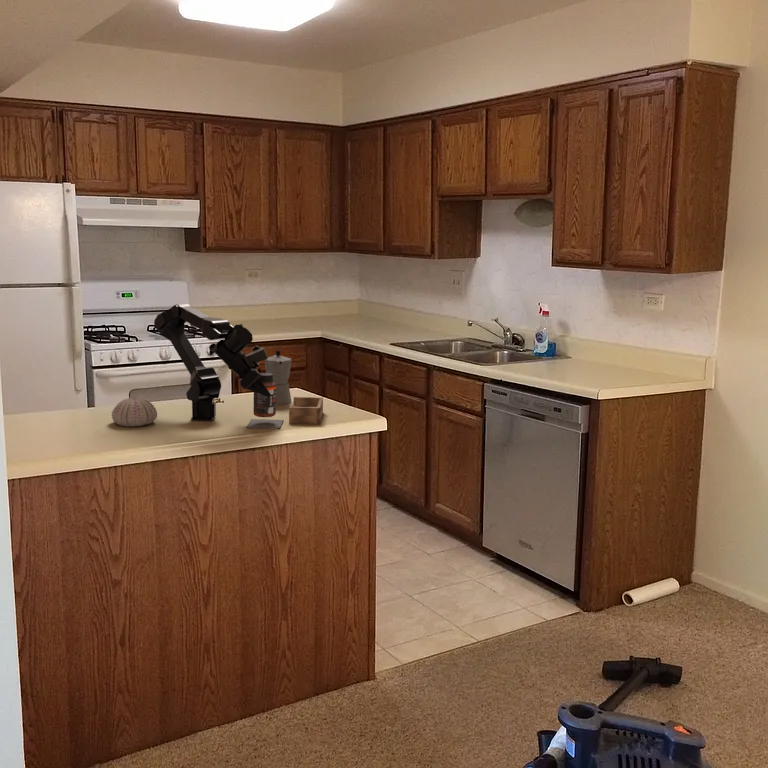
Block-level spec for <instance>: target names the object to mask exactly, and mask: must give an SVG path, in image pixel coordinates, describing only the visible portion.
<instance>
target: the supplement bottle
mask: <svg viewBox="0 0 768 768" xmlns="http://www.w3.org/2000/svg"><path fill="white" fill-rule="evenodd" d="M261 381H262V383H263V384H264V385H265V387H266V388H267V390H268V391H269V392H270V394H271V395H270V396H269V397H267V396H264V395H262V394H259V393H257V392H254V391H253V415H254V416H255V417H258V418H272V417H274V416H276V414H277V405H276V383H275V382H274V381H273V374H271V373H266V372H261Z"/></svg>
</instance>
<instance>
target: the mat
mask: <svg viewBox="0 0 768 768" xmlns="http://www.w3.org/2000/svg"><path fill="white" fill-rule="evenodd" d="M283 423H284V419H261V418H260V419H256V418H251V419H250V421H249V422H248V424H247V425H246V427H245V428H246V429H266V428H280V427H282V425H283ZM280 429H281V428H280Z"/></svg>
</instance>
